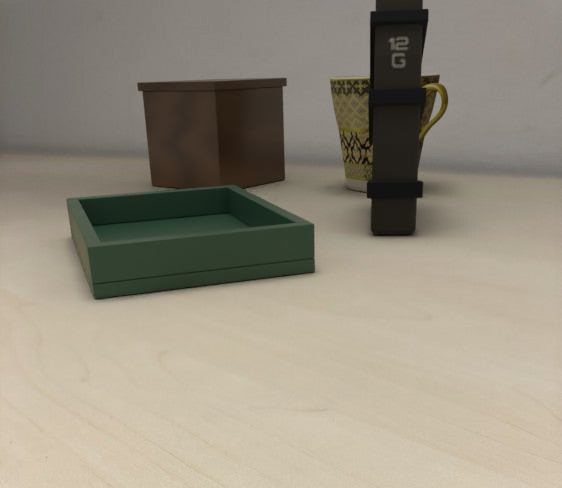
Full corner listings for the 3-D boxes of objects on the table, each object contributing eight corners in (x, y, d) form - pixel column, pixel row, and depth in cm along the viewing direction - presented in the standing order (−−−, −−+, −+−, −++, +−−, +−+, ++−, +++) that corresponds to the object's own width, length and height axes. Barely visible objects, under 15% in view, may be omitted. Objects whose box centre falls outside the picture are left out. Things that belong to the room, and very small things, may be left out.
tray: (71, 236, 52) (65, 198, 50) (236, 220, 55) (234, 184, 54) (94, 299, 37) (87, 246, 36) (315, 271, 41) (314, 223, 40)
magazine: (365, 220, 46) (370, -7, 46) (366, 260, 59) (370, 83, 59) (424, 220, 45) (429, -10, 46) (412, 260, 58) (415, 81, 59)
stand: (147, 185, 74) (136, 82, 70) (217, 173, 81) (211, 79, 77) (221, 193, 67) (214, 81, 63) (289, 179, 75) (286, 77, 71)
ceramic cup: (309, 186, 70) (308, 77, 66) (386, 176, 75) (389, 74, 71) (398, 204, 60) (403, 76, 56) (479, 190, 65) (489, 72, 61)
